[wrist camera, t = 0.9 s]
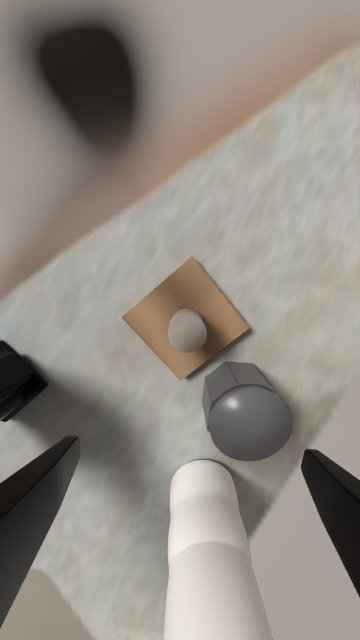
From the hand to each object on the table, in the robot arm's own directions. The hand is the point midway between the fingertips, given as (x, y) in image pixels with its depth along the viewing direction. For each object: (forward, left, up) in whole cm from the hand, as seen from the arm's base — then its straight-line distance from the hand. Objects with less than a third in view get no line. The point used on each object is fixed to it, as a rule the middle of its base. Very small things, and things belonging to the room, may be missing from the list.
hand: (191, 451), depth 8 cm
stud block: (+2, +2, -12) cm, 12 cm away
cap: (+1, -7, -12) cm, 14 cm away
